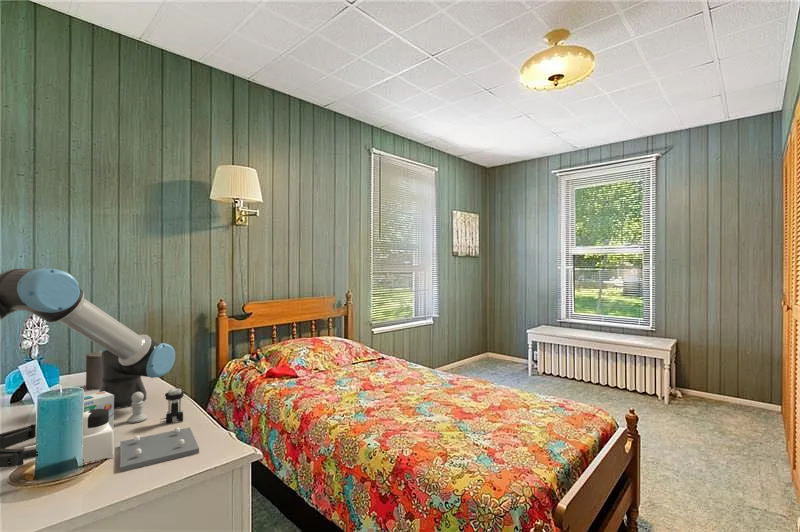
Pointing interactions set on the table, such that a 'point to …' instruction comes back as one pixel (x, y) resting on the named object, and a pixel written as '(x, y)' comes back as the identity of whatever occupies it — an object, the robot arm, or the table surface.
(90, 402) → the light bulb box
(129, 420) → the chess piece
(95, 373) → the pillar candle
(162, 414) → the table surface
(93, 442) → the medicine bottle
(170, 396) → the push button
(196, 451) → the pin tray
